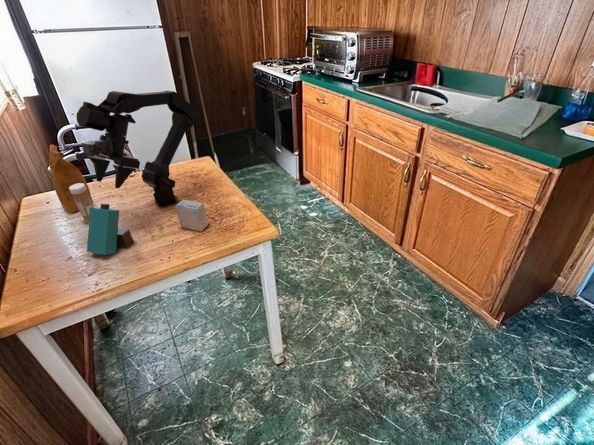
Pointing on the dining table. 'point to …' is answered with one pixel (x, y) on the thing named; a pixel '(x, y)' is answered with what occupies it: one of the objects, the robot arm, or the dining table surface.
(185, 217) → the medicine box
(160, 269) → the dining table surface
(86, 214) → the sprinkles bottle
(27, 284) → the dining table surface
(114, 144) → the robot arm
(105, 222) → the plastic bottle
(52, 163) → the coffee package
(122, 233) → the walnut block
